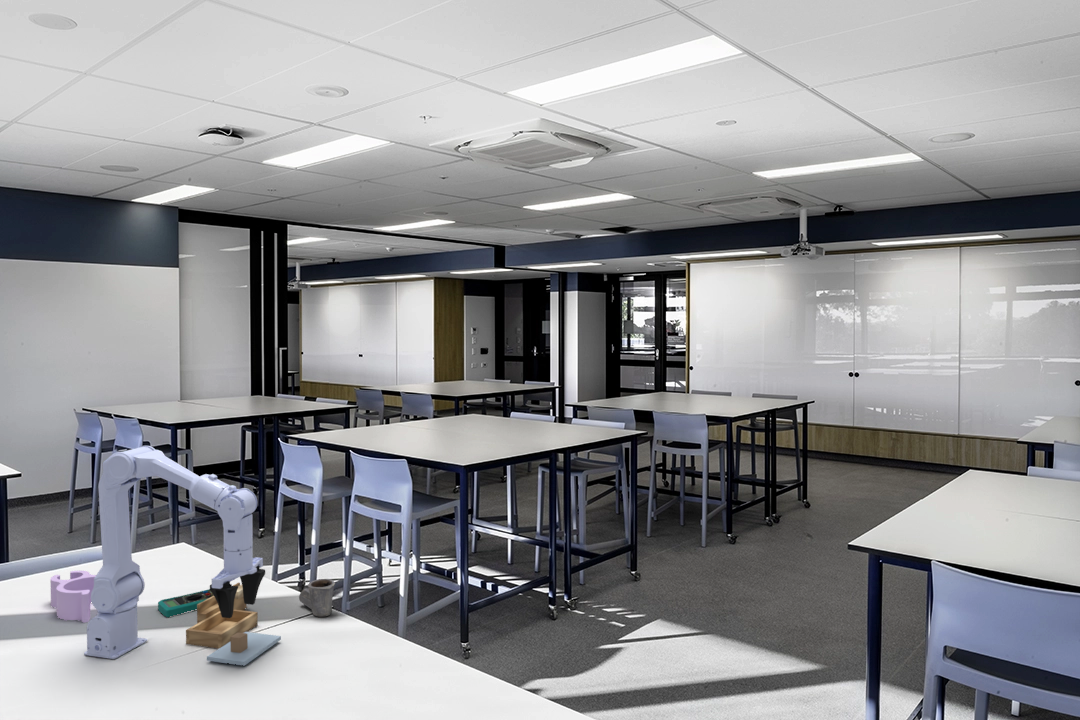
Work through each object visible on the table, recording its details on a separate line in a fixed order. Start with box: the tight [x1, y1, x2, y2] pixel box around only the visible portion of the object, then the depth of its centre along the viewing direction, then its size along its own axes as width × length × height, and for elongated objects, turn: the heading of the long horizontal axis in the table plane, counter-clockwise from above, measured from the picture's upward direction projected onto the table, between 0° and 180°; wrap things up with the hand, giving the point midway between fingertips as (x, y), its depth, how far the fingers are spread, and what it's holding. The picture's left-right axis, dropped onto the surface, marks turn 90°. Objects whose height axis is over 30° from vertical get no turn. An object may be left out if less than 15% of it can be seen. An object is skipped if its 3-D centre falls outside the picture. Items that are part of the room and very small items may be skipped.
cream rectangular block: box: [235, 583, 243, 599], centre depth 181 cm, size 5×2×2 cm, turn 166°
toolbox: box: [185, 582, 259, 650], centre depth 172 cm, size 22×11×6 cm, turn 166°
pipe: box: [298, 578, 335, 618], centre depth 182 cm, size 6×13×8 cm, turn 47°
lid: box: [206, 631, 282, 666], centre depth 159 cm, size 13×9×5 cm
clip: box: [49, 570, 97, 623], centre depth 182 cm, size 20×12×7 cm, turn 55°
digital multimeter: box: [157, 588, 214, 618], centre depth 185 cm, size 7×15×3 cm, turn 134°
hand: (238, 610), depth 157 cm, fingers open, 7 cm apart
